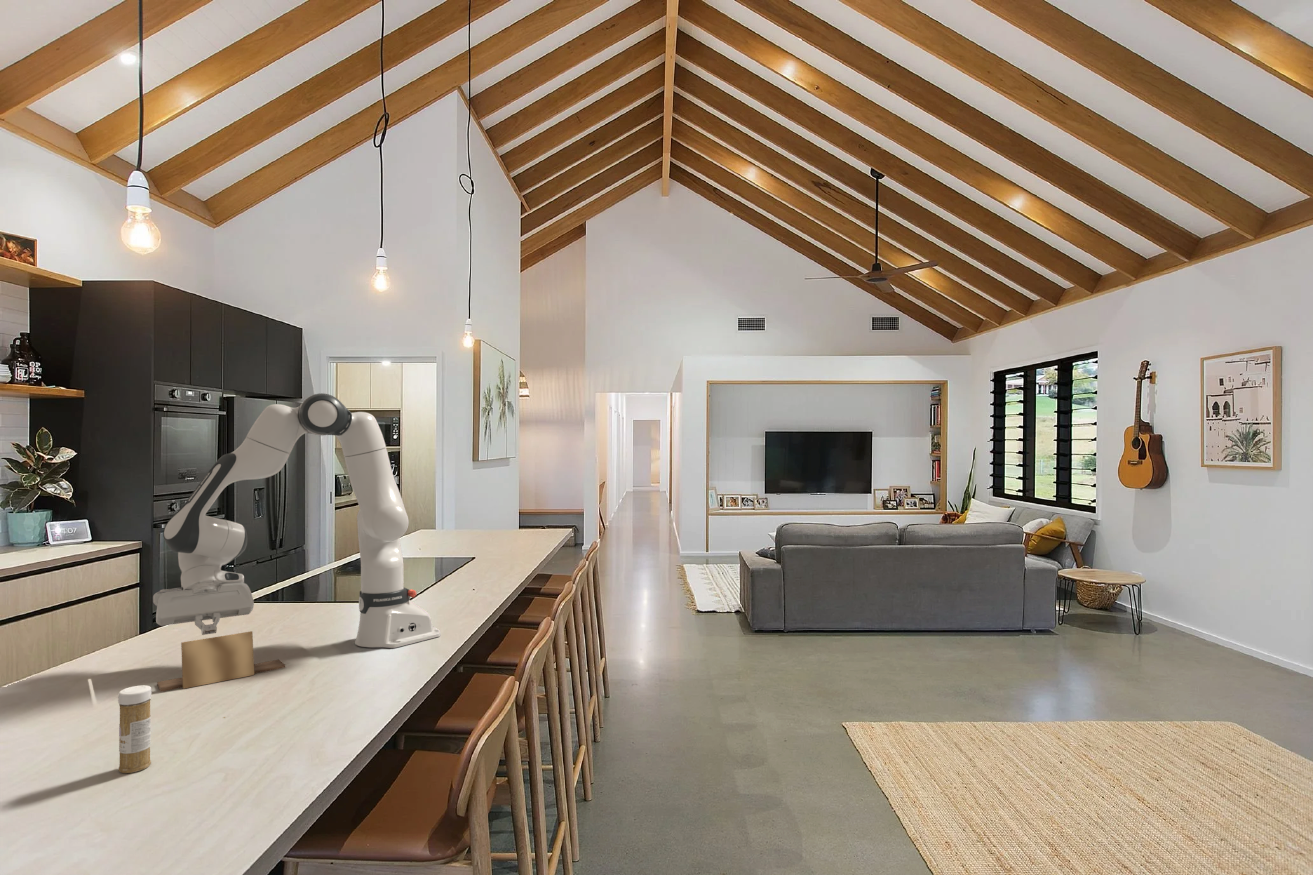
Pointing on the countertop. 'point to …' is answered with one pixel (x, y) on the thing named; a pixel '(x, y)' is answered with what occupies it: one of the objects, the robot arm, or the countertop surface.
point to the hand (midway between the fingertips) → (209, 632)
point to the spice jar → (134, 728)
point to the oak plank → (217, 659)
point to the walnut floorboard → (257, 669)
